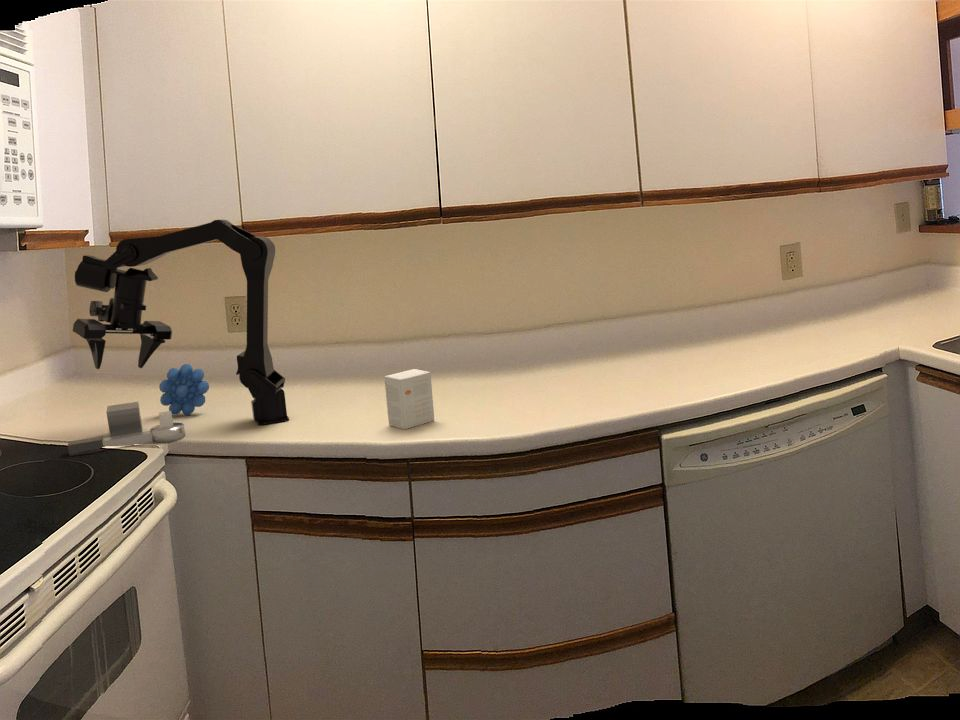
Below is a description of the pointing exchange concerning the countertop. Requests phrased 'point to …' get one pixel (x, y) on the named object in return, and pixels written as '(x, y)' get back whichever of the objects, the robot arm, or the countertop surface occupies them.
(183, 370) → the grapes
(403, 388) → the small box
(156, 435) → the ratchet
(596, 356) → the countertop surface
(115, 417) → the grey rounded cube
